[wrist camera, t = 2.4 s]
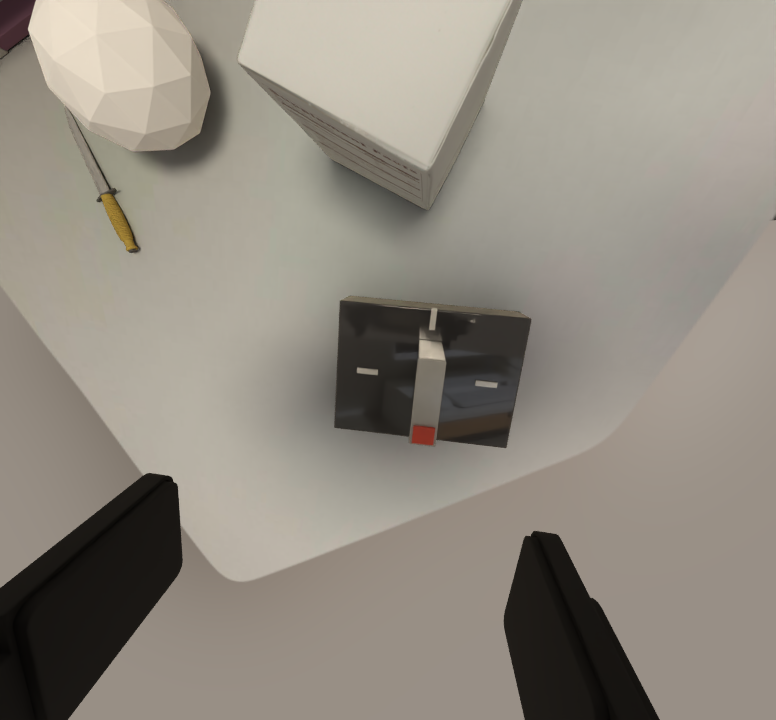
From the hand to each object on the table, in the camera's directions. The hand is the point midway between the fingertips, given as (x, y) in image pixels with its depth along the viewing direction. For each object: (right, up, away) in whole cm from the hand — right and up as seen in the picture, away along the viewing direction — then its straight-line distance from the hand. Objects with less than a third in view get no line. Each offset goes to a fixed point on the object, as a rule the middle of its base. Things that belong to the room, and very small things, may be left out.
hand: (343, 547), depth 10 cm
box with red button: (+4, +4, +14) cm, 15 cm away
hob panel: (+4, +5, +17) cm, 18 cm away
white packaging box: (+2, +19, +13) cm, 24 cm away
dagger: (-19, +18, +16) cm, 30 cm away
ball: (-13, +22, +14) cm, 29 cm away
